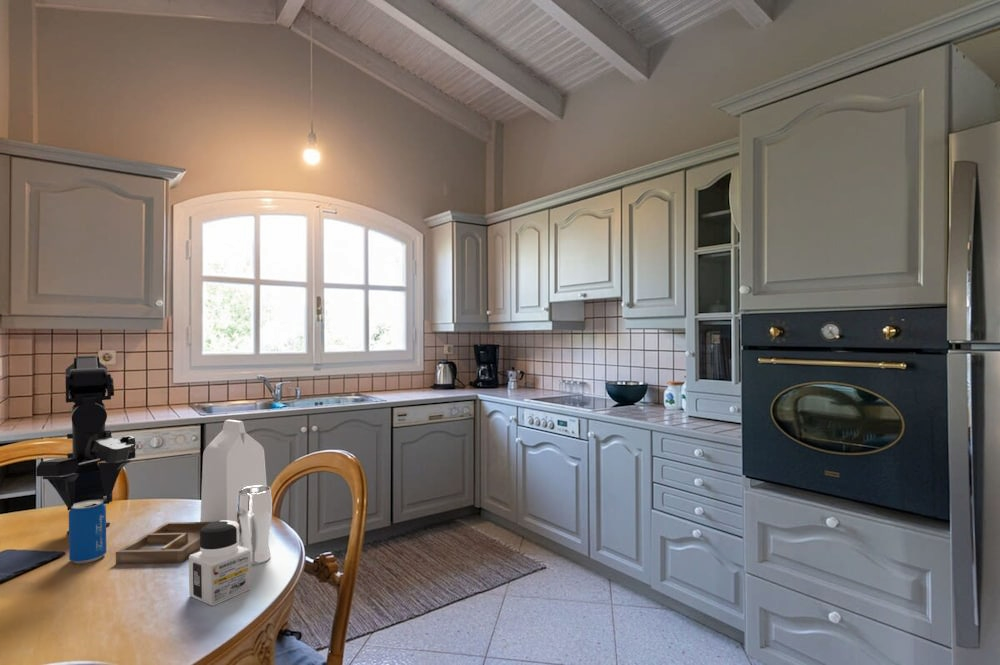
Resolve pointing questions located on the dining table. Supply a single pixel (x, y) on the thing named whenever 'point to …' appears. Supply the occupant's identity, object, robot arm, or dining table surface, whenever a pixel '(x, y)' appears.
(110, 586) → the dining table surface
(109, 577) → the dining table surface
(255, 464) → the milk
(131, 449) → the robot arm
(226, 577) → the container
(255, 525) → the beer glass
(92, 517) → the beverage can
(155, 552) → the tray
